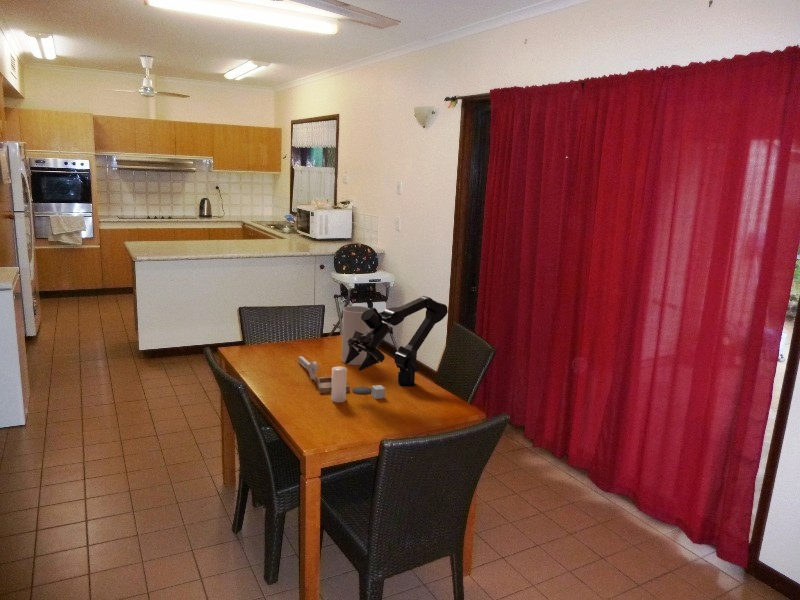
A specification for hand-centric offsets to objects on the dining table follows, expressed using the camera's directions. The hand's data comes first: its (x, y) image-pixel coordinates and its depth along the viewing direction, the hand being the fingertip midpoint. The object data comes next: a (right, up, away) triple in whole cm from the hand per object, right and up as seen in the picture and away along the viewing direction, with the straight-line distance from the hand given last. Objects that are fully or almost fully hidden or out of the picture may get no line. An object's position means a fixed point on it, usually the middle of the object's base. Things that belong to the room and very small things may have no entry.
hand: (352, 366), depth 224 cm
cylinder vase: (-3, -3, +45) cm, 45 cm away
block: (+10, -12, +4) cm, 16 cm away
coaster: (+3, -11, +9) cm, 14 cm away
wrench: (-22, -6, +27) cm, 35 cm away
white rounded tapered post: (-5, -12, -1) cm, 14 cm away
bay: (-9, -9, +12) cm, 18 cm away
